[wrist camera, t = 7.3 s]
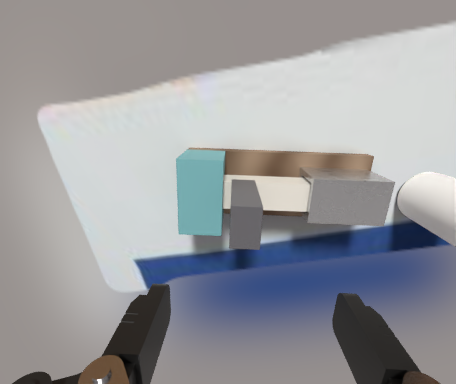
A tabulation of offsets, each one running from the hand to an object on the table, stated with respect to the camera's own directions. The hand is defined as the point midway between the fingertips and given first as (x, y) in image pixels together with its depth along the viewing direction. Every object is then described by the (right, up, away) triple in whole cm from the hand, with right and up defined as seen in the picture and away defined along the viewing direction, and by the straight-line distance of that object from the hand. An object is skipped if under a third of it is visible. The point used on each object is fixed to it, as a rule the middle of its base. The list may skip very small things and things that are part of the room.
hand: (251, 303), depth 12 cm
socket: (-4, +6, +19) cm, 20 cm away
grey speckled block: (+11, +6, +18) cm, 22 cm away
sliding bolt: (+2, +6, +17) cm, 18 cm away
